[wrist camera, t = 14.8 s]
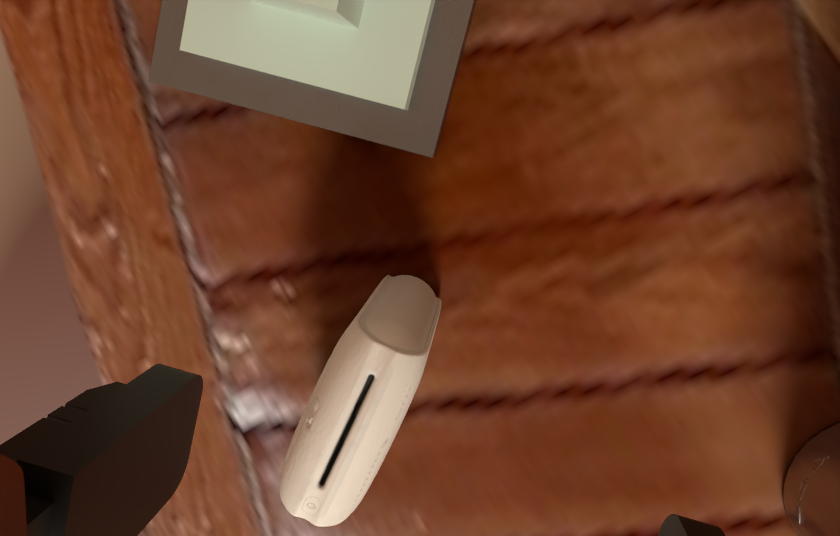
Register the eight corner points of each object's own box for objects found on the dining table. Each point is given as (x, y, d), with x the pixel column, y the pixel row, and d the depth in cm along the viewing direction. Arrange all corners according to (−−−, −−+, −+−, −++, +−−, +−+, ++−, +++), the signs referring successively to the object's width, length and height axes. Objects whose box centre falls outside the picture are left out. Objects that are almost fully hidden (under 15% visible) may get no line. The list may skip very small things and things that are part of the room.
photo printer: (382, 439, 42) (338, 563, 30) (319, 409, 42) (249, 521, 30) (453, 292, 39) (437, 362, 27) (386, 261, 40) (341, 317, 27)
